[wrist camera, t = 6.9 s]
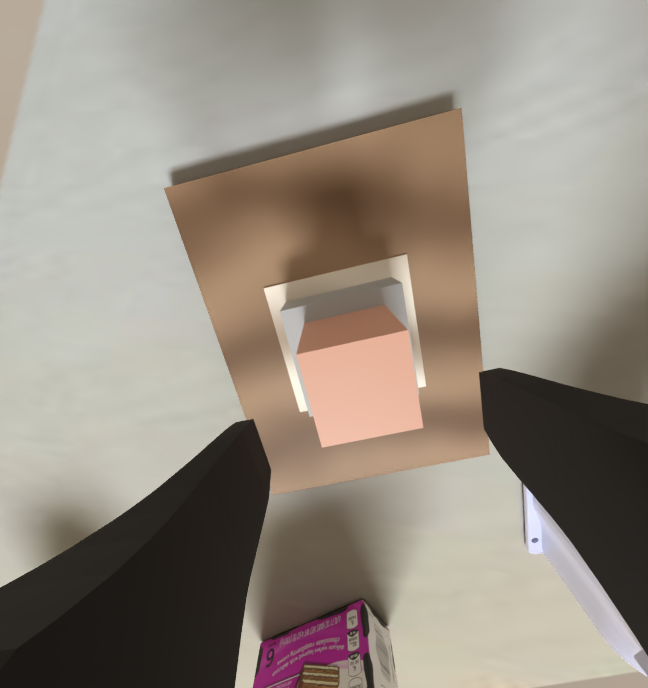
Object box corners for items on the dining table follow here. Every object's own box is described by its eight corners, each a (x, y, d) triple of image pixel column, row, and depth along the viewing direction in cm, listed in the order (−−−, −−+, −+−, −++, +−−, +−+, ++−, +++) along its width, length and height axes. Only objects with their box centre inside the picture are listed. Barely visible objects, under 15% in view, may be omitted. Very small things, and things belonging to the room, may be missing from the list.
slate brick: (407, 375, 19) (419, 394, 17) (311, 395, 19) (309, 416, 17) (391, 276, 17) (402, 282, 15) (285, 301, 18) (279, 311, 15)
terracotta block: (397, 378, 16) (423, 427, 12) (322, 394, 17) (322, 447, 12) (384, 304, 15) (408, 330, 11) (304, 323, 15) (296, 354, 11)
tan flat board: (482, 445, 22) (490, 455, 21) (275, 484, 23) (273, 495, 22) (453, 115, 16) (462, 107, 15) (173, 191, 17) (163, 188, 16)
